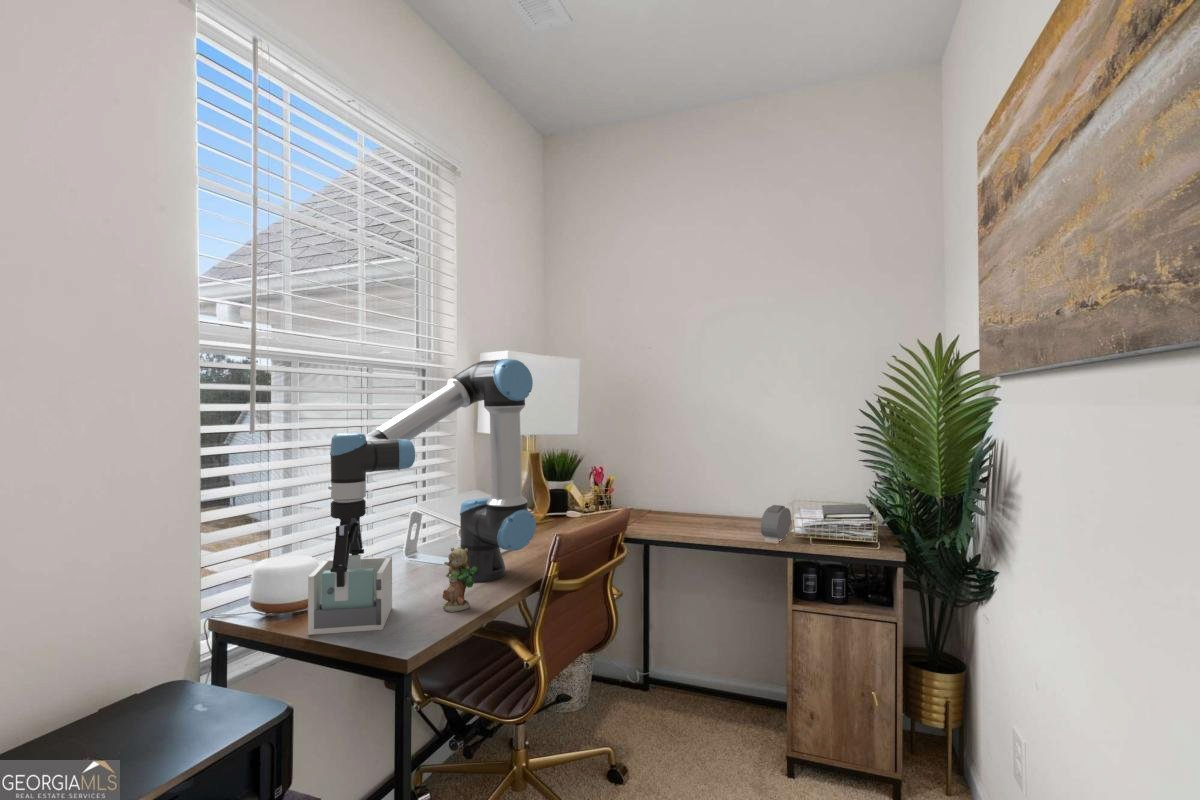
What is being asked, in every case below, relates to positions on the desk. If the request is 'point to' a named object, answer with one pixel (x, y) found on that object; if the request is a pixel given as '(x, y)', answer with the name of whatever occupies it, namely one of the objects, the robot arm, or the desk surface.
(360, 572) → the door
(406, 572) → the desk surface
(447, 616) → the desk surface
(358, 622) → the cabinet
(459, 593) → the figurine
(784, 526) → the alarm clock
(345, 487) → the robot arm
